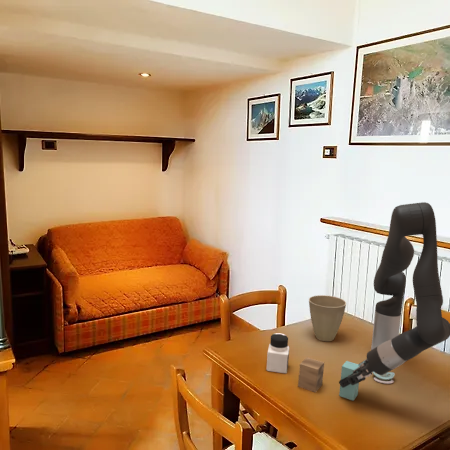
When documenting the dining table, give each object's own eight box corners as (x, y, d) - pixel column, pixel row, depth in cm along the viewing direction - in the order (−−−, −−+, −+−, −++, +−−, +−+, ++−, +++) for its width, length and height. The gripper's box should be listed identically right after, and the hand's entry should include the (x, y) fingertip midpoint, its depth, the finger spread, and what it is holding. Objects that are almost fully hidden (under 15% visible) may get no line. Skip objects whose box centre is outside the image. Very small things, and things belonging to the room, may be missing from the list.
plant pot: (342, 332, 183) (345, 297, 180) (343, 347, 168) (347, 309, 166) (306, 328, 186) (309, 293, 183) (305, 342, 172) (308, 304, 169)
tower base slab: (305, 379, 144) (306, 368, 143) (322, 384, 140) (323, 373, 140) (297, 386, 139) (298, 375, 138) (315, 392, 136) (316, 381, 135)
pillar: (343, 389, 138) (346, 360, 136) (357, 394, 135) (360, 365, 134) (339, 395, 134) (341, 366, 132) (353, 400, 132) (356, 370, 130)
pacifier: (396, 386, 142) (392, 376, 147) (398, 369, 140) (394, 360, 146) (373, 383, 143) (370, 374, 149) (374, 366, 142) (372, 357, 147)
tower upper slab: (306, 368, 143) (306, 356, 142) (323, 373, 140) (324, 362, 139) (299, 375, 138) (300, 364, 137) (316, 381, 135) (317, 369, 134)
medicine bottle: (287, 373, 146) (289, 341, 144) (266, 371, 148) (268, 338, 146) (288, 364, 153) (290, 332, 151) (268, 361, 155) (270, 330, 153)
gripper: (384, 337, 133) (343, 362, 142) (372, 354, 122) (328, 380, 130) (400, 358, 131) (357, 382, 140) (389, 377, 120) (343, 402, 128)
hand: (343, 381), depth 135 cm, fingers closed on pillar, 4 cm apart
